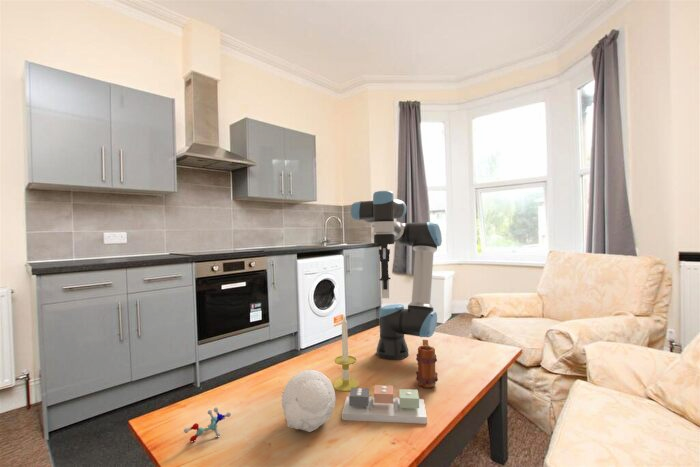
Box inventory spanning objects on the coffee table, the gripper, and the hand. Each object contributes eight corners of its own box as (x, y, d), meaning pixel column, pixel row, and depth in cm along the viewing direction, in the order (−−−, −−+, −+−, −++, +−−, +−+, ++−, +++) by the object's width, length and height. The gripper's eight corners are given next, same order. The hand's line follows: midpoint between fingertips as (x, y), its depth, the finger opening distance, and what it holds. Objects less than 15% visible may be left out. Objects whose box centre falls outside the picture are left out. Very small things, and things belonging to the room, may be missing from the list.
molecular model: (197, 412, 103) (208, 390, 100) (224, 425, 104) (236, 404, 101) (175, 446, 92) (187, 422, 89) (207, 460, 93) (219, 437, 90)
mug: (438, 391, 120) (437, 350, 120) (416, 390, 122) (415, 349, 122) (436, 374, 135) (435, 337, 135) (416, 373, 136) (415, 337, 136)
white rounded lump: (326, 403, 114) (325, 357, 114) (354, 428, 99) (353, 374, 99) (270, 422, 103) (268, 371, 103) (292, 453, 88) (290, 393, 88)
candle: (346, 377, 134) (344, 310, 134) (364, 385, 127) (362, 314, 127) (327, 385, 127) (325, 315, 127) (345, 394, 120) (343, 320, 120)
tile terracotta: (375, 393, 111) (374, 384, 111) (393, 394, 110) (393, 385, 110) (374, 403, 105) (374, 393, 105) (393, 403, 104) (393, 393, 104)
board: (346, 402, 114) (346, 392, 114) (423, 405, 111) (423, 395, 111) (342, 419, 103) (342, 409, 103) (427, 423, 100) (426, 413, 100)
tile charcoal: (351, 396, 112) (351, 387, 112) (369, 396, 111) (369, 387, 111) (349, 405, 106) (349, 395, 106) (368, 406, 105) (367, 396, 105)
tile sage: (399, 398, 110) (399, 388, 110) (417, 398, 109) (417, 389, 109) (399, 407, 104) (399, 397, 104) (419, 408, 103) (419, 398, 103)
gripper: (374, 233, 128) (376, 294, 128) (372, 233, 115) (374, 301, 115) (394, 233, 127) (395, 294, 127) (394, 233, 114) (396, 301, 114)
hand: (385, 297), depth 121 cm, fingers closed
